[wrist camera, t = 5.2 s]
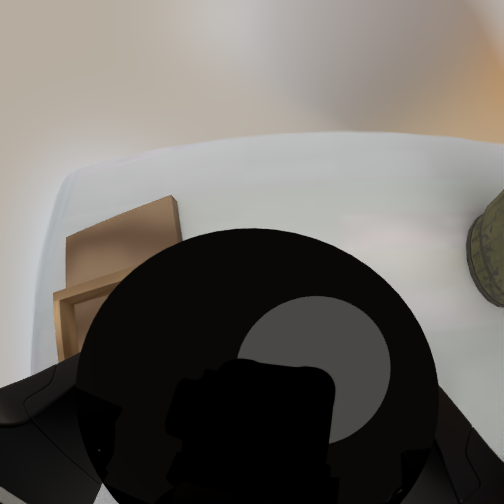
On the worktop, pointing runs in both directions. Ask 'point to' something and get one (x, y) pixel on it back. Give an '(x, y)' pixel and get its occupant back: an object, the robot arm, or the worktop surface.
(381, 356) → the supplement container
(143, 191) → the worktop surface
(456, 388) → the worktop surface
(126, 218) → the board
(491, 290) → the thermos
